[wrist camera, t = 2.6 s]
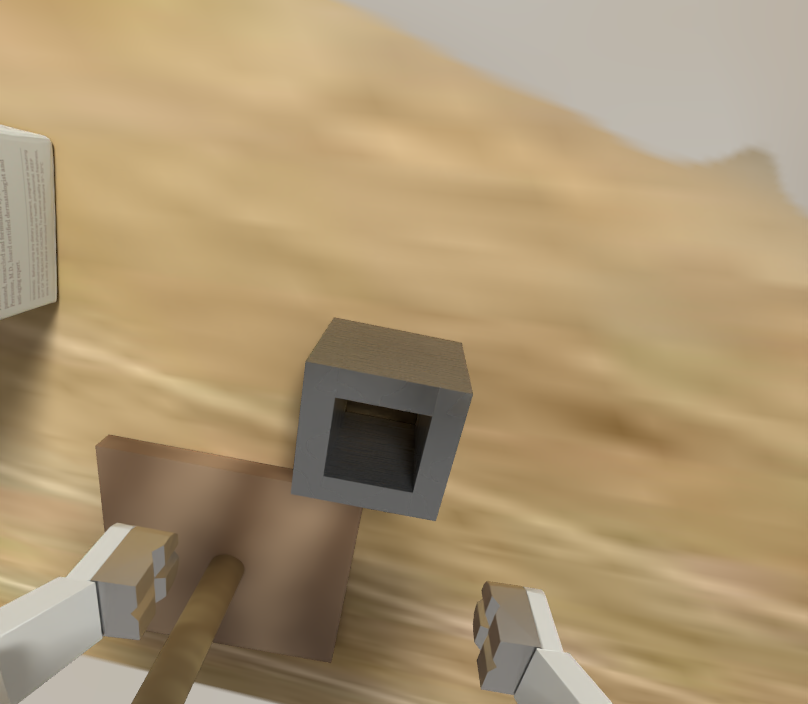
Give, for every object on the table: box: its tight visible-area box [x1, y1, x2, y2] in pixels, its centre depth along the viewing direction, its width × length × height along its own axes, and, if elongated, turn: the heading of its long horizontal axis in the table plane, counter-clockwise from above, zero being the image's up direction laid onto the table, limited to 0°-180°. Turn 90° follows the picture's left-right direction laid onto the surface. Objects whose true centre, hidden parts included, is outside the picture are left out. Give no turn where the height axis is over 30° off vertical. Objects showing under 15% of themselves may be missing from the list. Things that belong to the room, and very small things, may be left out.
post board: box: [95, 435, 362, 704], centre depth 21 cm, size 14×14×9 cm
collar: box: [291, 318, 473, 521], centre depth 18 cm, size 6×6×5 cm
